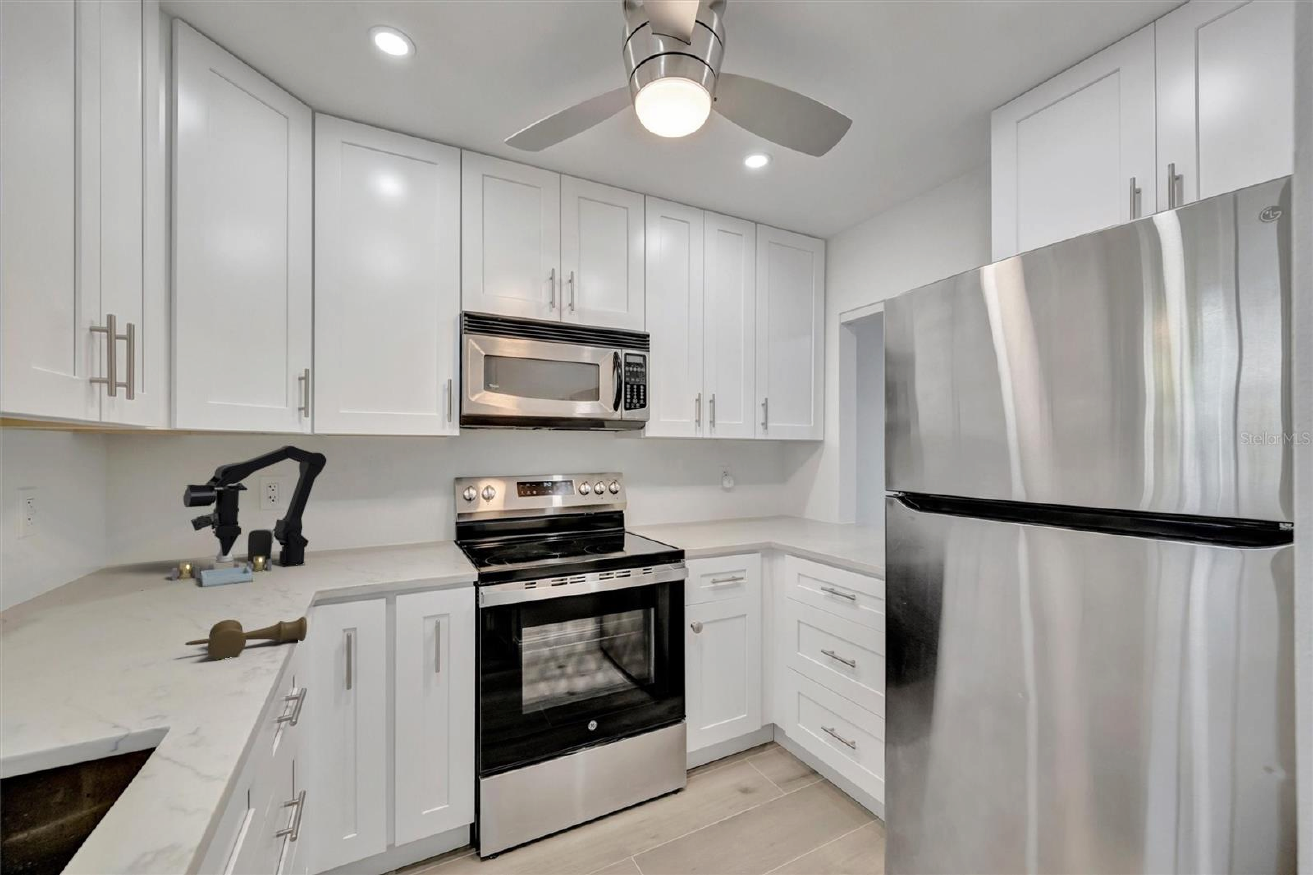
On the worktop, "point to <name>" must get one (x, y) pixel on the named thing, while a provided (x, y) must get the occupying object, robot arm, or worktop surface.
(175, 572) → the grey small pieces
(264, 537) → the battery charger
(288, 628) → the kendama
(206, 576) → the tray
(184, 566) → the brass peg
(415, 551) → the worktop surface
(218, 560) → the rook chess piece
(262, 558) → the brass peg
